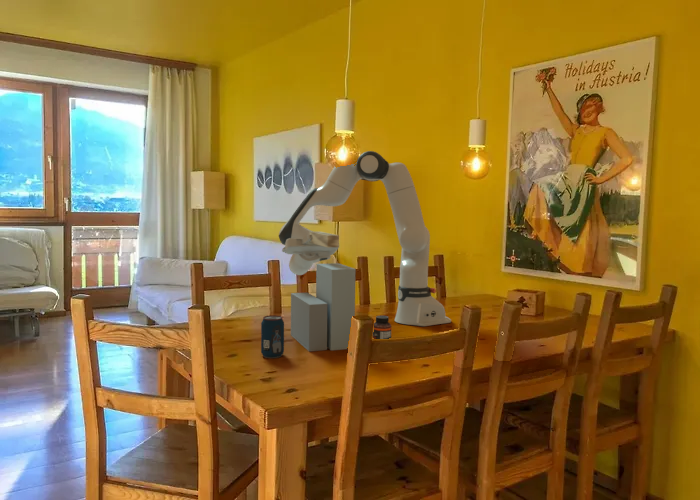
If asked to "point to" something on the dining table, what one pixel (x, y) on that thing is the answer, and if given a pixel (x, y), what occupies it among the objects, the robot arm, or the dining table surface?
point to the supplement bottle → (382, 328)
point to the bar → (325, 239)
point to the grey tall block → (337, 301)
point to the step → (309, 321)
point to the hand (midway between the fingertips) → (317, 236)
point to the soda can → (272, 336)
